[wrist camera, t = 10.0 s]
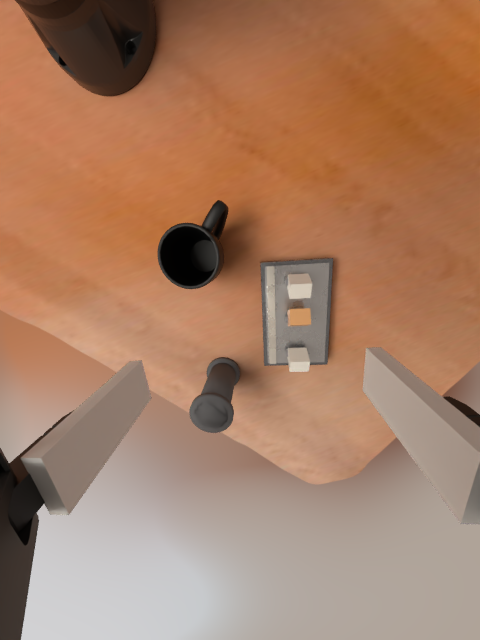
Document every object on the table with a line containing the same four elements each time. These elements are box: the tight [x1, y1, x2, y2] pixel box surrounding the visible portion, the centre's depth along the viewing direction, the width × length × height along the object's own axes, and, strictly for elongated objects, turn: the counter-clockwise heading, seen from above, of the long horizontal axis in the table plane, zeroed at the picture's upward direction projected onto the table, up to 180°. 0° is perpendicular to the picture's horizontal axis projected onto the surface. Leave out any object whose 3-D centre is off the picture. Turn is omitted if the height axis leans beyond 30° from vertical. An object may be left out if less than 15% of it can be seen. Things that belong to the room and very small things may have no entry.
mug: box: [158, 200, 228, 289], centre depth 32 cm, size 8×12×10 cm
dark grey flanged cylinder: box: [190, 357, 240, 433], centre depth 38 cm, size 6×6×12 cm
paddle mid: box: [285, 308, 311, 326], centre depth 34 cm, size 2×4×4 cm, turn 95°
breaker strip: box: [261, 258, 333, 366], centre depth 37 cm, size 18×11×3 cm, turn 4°
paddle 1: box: [285, 273, 312, 299], centre depth 33 cm, size 2×4×4 cm, turn 93°
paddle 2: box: [286, 348, 310, 372], centre depth 36 cm, size 2×4×4 cm, turn 93°
